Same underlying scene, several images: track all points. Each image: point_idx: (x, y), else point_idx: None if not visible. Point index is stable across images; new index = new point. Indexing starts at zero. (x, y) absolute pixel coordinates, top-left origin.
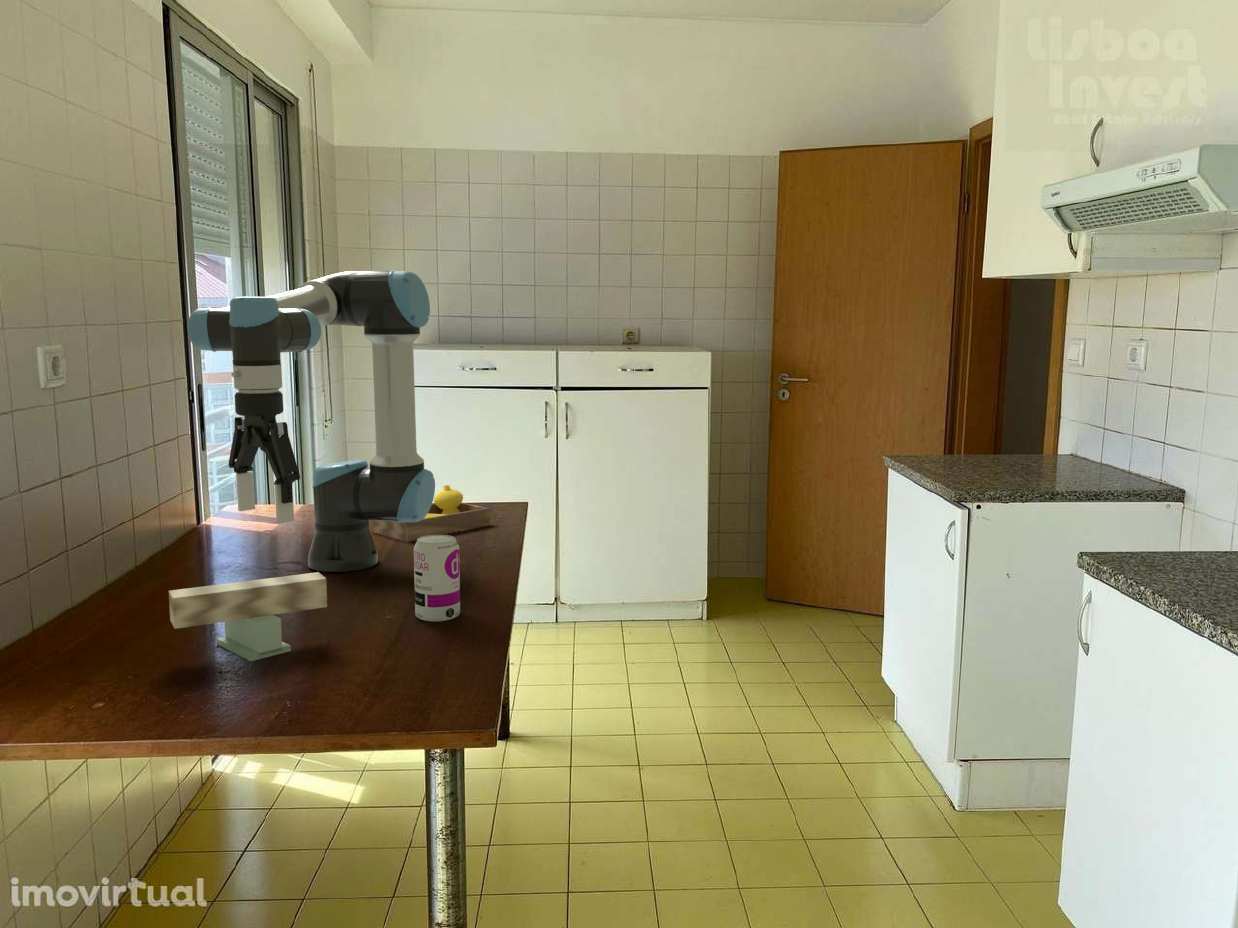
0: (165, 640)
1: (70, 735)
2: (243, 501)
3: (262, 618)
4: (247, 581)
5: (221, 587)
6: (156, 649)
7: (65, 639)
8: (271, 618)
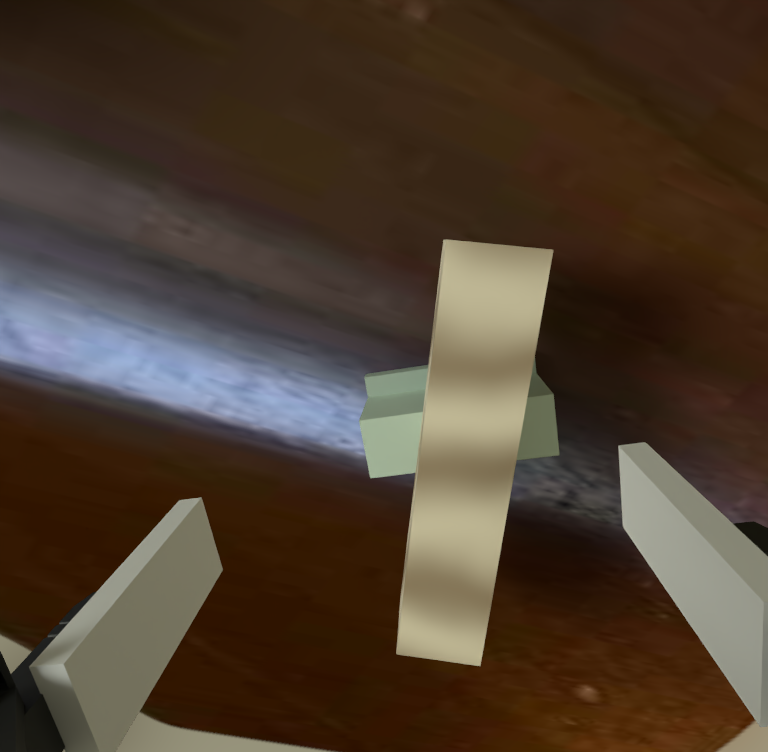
0: (293, 531)
1: (694, 746)
2: (196, 585)
3: (524, 432)
4: (425, 470)
5: (448, 546)
6: (343, 558)
7: (186, 660)
8: (538, 413)
